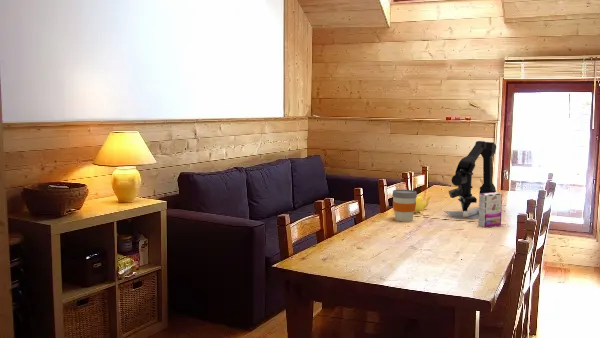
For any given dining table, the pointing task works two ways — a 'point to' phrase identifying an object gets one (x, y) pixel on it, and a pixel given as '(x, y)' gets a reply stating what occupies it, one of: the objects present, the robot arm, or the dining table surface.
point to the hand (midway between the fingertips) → (464, 212)
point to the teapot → (421, 204)
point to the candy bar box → (490, 209)
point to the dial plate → (461, 215)
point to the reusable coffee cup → (404, 204)
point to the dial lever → (471, 212)
